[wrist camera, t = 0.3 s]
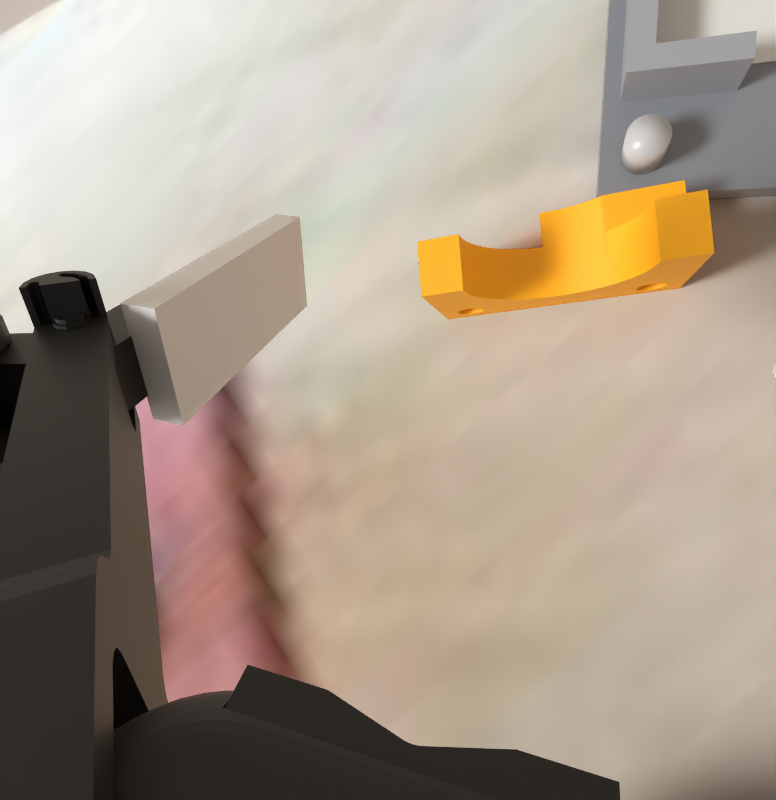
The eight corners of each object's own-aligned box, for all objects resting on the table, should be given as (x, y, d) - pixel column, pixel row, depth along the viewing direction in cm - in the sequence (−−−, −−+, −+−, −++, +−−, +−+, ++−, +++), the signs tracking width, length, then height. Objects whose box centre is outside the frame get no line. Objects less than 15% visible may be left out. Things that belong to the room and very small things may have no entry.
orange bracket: (670, 205, 28) (703, 146, 22) (679, 288, 27) (714, 252, 21) (442, 245, 31) (414, 204, 25) (448, 319, 31) (421, 296, 25)
